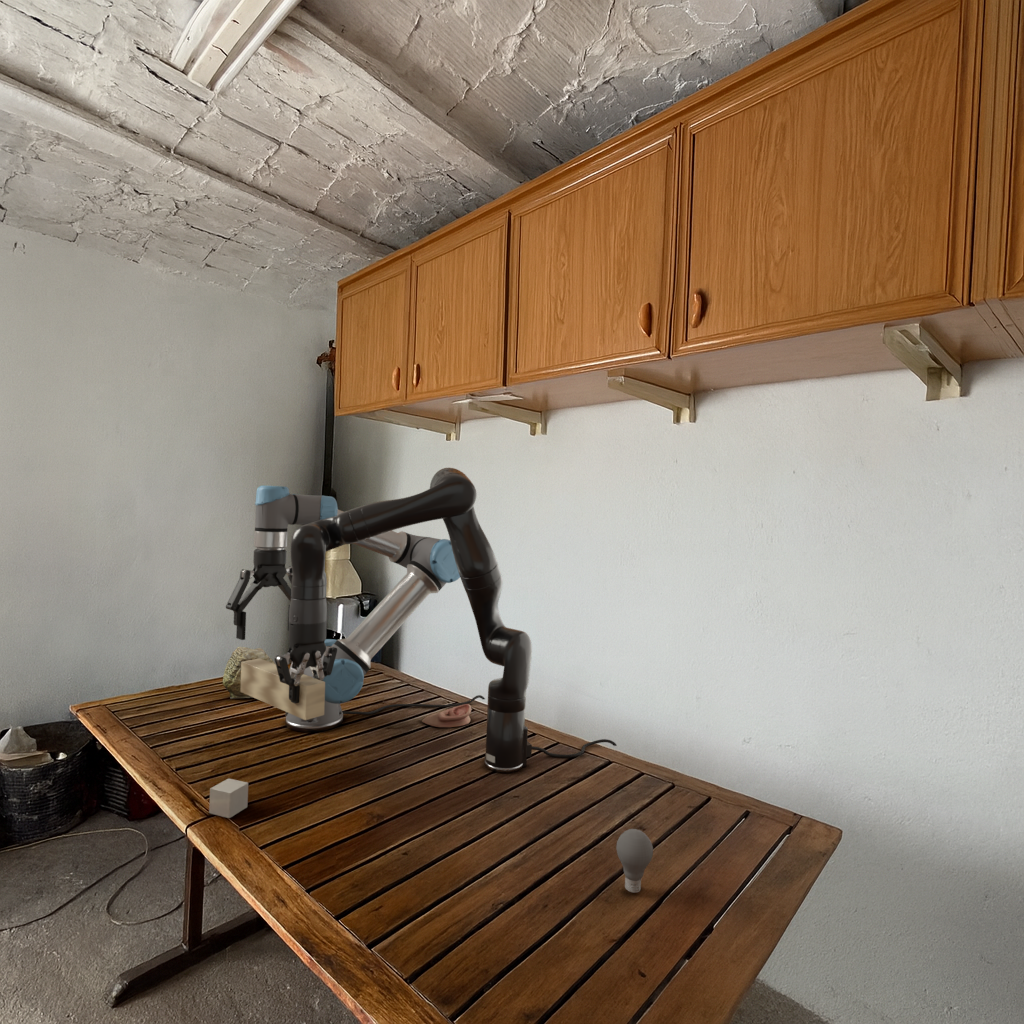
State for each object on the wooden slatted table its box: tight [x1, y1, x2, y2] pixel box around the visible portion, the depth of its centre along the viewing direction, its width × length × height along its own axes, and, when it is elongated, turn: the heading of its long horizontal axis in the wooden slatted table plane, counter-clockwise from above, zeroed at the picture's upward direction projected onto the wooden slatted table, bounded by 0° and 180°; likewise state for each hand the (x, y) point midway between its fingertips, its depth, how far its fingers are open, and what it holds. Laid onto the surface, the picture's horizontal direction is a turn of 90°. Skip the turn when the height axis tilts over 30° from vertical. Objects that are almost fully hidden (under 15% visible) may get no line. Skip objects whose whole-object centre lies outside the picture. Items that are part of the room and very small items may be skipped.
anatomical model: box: [421, 703, 472, 728], centre depth 182 cm, size 13×4×12 cm
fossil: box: [222, 646, 276, 699], centre depth 198 cm, size 9×18×15 cm, turn 132°
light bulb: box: [615, 828, 654, 894], centre depth 106 cm, size 6×6×10 cm
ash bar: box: [240, 658, 325, 720], centre depth 139 cm, size 26×4×7 cm, turn 51°
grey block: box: [208, 778, 249, 819], centre depth 126 cm, size 5×5×5 cm
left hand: (267, 635), depth 155 cm, fingers open, 13 cm apart
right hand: (305, 699), depth 133 cm, fingers closed on ash bar, 4 cm apart
